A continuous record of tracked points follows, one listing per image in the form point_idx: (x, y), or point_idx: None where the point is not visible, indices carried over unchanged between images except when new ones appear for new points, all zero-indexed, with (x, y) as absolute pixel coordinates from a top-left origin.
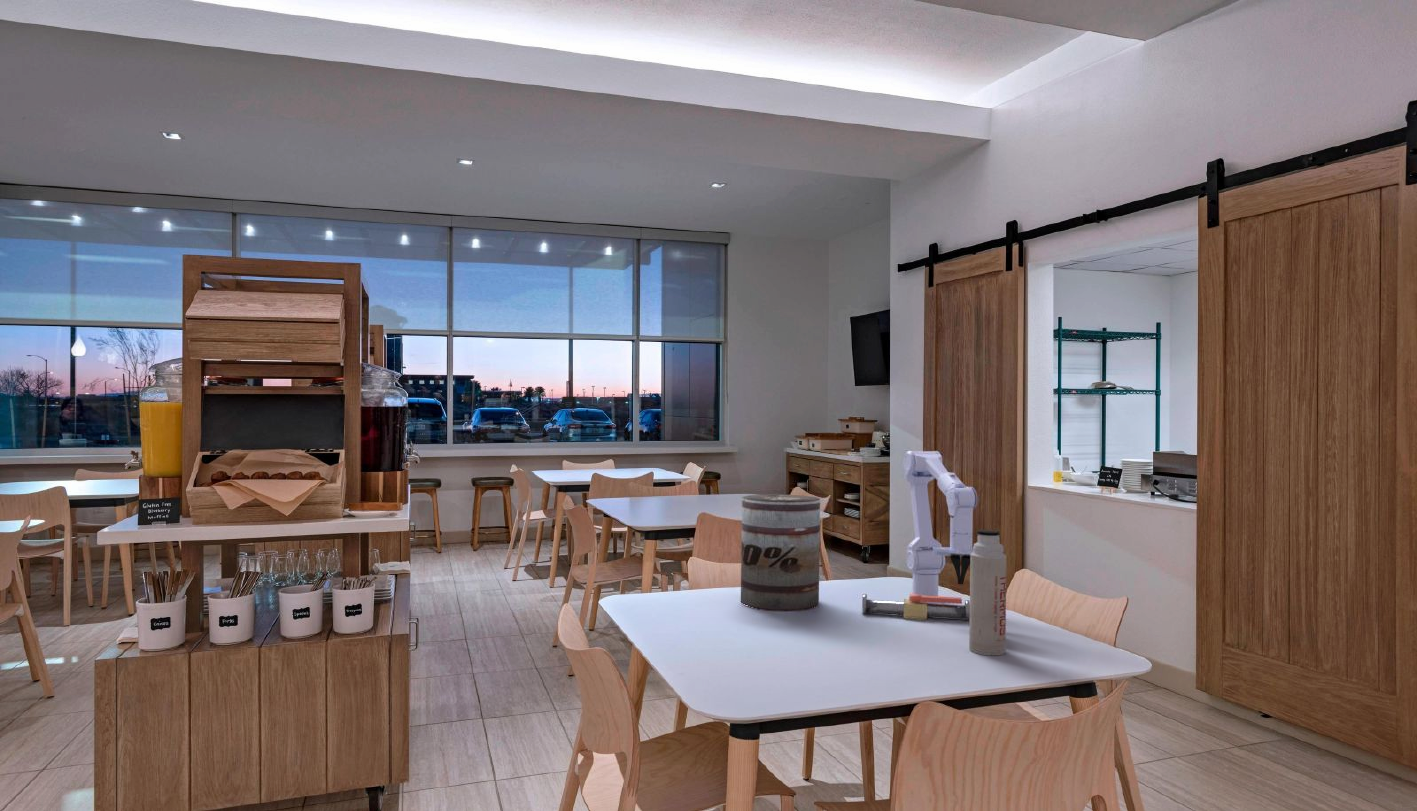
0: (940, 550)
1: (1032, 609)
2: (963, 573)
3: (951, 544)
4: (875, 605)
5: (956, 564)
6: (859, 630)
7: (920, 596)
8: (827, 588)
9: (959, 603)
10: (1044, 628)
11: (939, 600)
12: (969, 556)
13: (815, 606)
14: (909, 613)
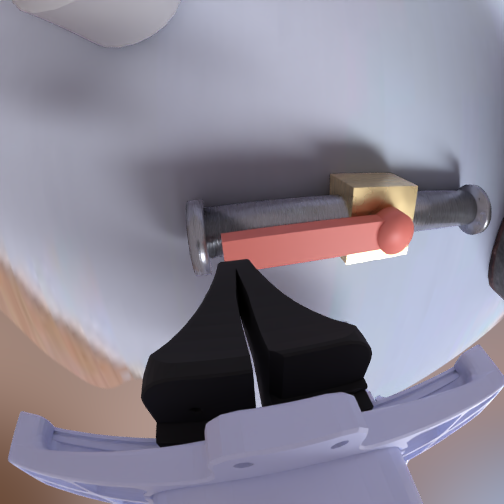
0: (472, 391)
1: (85, 376)
2: (221, 294)
3: (419, 495)
4: (459, 195)
5: (299, 321)
6: (461, 36)
7: (383, 224)
8: (445, 352)
9: (230, 233)
10: (4, 218)
11: (312, 225)
12: (176, 436)
13: (502, 224)
14: (385, 177)
